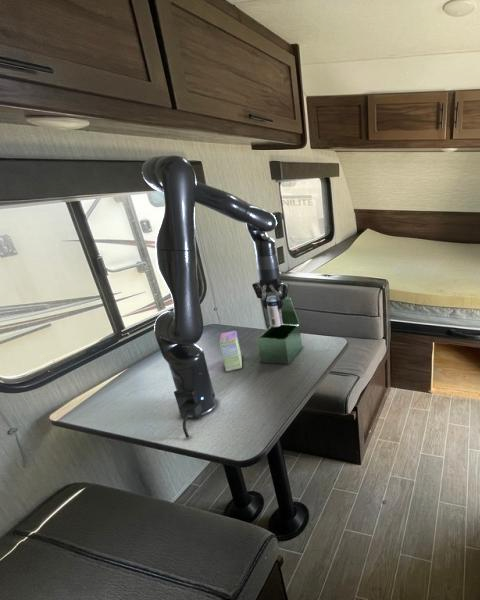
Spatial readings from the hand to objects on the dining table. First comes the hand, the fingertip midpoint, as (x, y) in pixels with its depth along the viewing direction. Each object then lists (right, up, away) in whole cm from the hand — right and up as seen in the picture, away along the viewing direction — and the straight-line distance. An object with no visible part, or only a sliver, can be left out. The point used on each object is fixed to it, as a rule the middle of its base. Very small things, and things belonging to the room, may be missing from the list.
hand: (274, 308), depth 126 cm
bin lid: (+1, -2, +6) cm, 6 cm away
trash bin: (0, -20, +9) cm, 21 cm away
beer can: (0, -7, +3) cm, 8 cm away
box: (-17, -22, +2) cm, 28 cm away
